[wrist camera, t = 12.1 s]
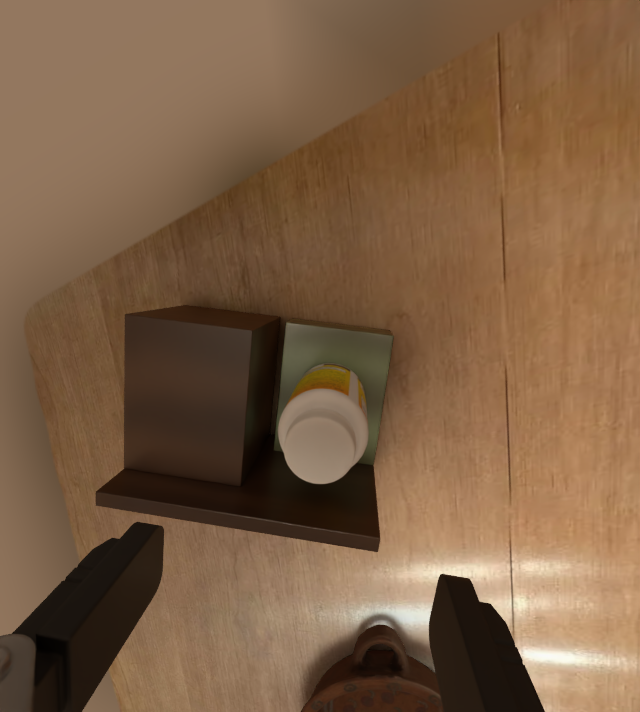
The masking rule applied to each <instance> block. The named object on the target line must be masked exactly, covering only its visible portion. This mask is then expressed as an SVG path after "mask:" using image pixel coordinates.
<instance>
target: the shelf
mask: <svg viewBox="0 0 640 712" xmlns="http://www.w3.org/2000/svg"><path fill="white" fill-rule="evenodd" d="M279 327H280V317H278V316H270V315H262V314H254V313H246V312H238V311H230V310H222V309H214V308H205V307H197V306H189V305H183V306H177V307H170V308H163V309H157V310H150V311H143V312H137V313H130V314H125V388H124V468H125V469H123V470H122V471H121V472H120V473H118V474H117V475H116V476H115V477H113V478H112V479H111V480H110V481H109V482H107V483H106V484H105V485H104V486H102V487H101V488H100V489H99V490H98V491H96V505H97V506H102V507H108V508H114V509H120V510H126V511H132V512H138V513H144V514H151V515H157V516H163V517H169V518H175V519H181V520H187V521H193V522H199V523H205V524H211V525H217V526H223V527H229V528H235V529H241V530H247V531H253V532H259V533H265V534H272V535H278V536H284V537H290V538H296V539H302V540H308V541H314V542H320V543H326V544H332V545H338V546H344V547H350V548H356V549H362V550H368V551H374V552H378V549H379V543H380V530H379V519H378V509H377V498H376V487H375V476H374V466H373V465H374V460H375V454H376V447H377V441H378V435H379V428H380V422H381V415H382V409H383V403H384V396H385V390H386V383H387V377H388V371H389V364H390V358H391V351H392V345H393V339H394V336H393V334H392V333H391V331H390V330H382V329H374V328H366V327H357V326H349V325H341V324H333V323H325V322H317V321H309V320H301V319H293V318H292V319H291V320H289V321H287V322H286V325H285V335H284V346H283V356H282V367H281V377H280V388H279V399H278V409H277V420H276V430H275V436H272V435H270V425H271V414H272V403H273V392H274V381H275V370H276V359H277V349H278V338H279ZM325 363H333V364H339V365H342V366H345V367H347V368H348V369H350V370H351V371H353V372H354V373H355V374H356V375H357V376H358V378H359V379H360V381H361V383H362V385H363V387H364V391H365V398H366V407H367V419H368V430H369V435H368V443H367V446H366V449H365V451H364V453H363V455H362V457H361V458H360V459H359V461H358V462H357V463H356V464H355V465H354V466H352V467H351V468H350V470H349V471H348V472H347V473H346V474H345V475H344V476H343V477H342V478H340V479H338V480H337V481H334V482H331V483H327V484H314V483H310V482H307V481H305V480H303V479H301V478H299V477H298V476H297V475H295V474H294V473H293V472H292V470H291V469H290V468H289V466H288V464H287V462H286V460H285V456H284V452H283V450H282V448H281V446H280V442H279V437H278V425H279V421H280V417H281V415H282V412H283V410H284V409H285V407H286V405H287V403H288V401H289V399H290V397H291V395H292V393H293V392H294V390H295V388H296V386H297V384H298V382H299V380H300V379H301V377H302V376H303V375H304V374H305V373H306V372H307V371H308V370H310V369H311V368H313V367H315V366H317V365H320V364H325Z"/></svg>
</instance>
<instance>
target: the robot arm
mask: <svg viewBox="0 0 640 712" xmlns="http://www.w3.org/2000/svg"><path fill="white" fill-rule="evenodd" d="M163 546H164V529H163V527H162V526H159V525H153V524H147V523H141V522H136V523H134V524H133V525H132V526H131V527H130V528H129V529H128V530H127V531H126V533H125V534H124V535H123V536H122V537H121V538H120V539H116V538H111V539H109V540H107V541H106V542H104V543H103V544H101V545H99V546H98V547H96V548H94V549H93V550H92V551H91V552H90V553H89V554H88V555H87V556H86V557H85V558H84V559H83V560H82V561H81V562H80V563H79V565H78V567H77V568H75V569H74V570H73V571H72V572H71V573H70V574H69V575H68V576H67V577H66V579H65V581H62V582H61V583H60V584H59V585H58V586H57V587H56V588H55V589H54V590H53V591H52V593H51V594H50V595H49V596H48V597H47V598H46V599H45V600H44V601H43V602H42V603H41V604H40V605H39V606H38V607H37V608H36V609H35V610H34V611H33V612H32V614H31V615H30V616H29V617H28V618H27V619H26V620H25V621H24V622H23V623H22V624H21V625H20V626H19V627H18V628H17V629H16V630H15V631H14V632H13V633H12V634H8V635H3V636H0V712H82V710H83V709H84V707H85V705H86V704H87V702H88V701H89V699H90V698H91V696H92V694H93V693H94V691H95V690H96V688H97V686H98V685H99V683H100V682H101V680H102V678H103V677H104V675H105V674H106V672H107V670H108V669H109V667H110V666H111V664H112V662H113V661H114V659H115V658H116V656H117V654H118V653H119V651H120V650H121V648H122V646H123V645H124V643H125V642H126V640H127V638H128V637H129V635H130V634H131V632H132V630H133V629H134V627H135V626H136V624H137V622H138V621H139V619H140V618H141V616H142V615H143V613H144V611H145V610H146V608H147V607H148V605H149V603H150V602H151V600H152V599H153V597H154V595H155V593H156V591H157V589H158V587H159V584H160V581H161V577H162V572H163ZM429 641H430V648H431V652H432V657H433V662H434V667H435V672H436V677H437V682H438V686H439V691H440V696H441V701H442V706H443V711H444V712H545V711H544V709H543V706H542V704H541V702H540V699H539V697H538V695H537V693H536V690H535V688H534V686H533V684H532V681H531V679H530V677H529V674H528V672H527V670H526V668H525V665H523V663H522V658H521V656H520V654H519V652H518V649H517V647H515V642H514V640H513V638H512V636H511V633H510V631H509V629H508V626H507V624H506V622H505V621H504V620H503V619H502V617H501V616H500V615H499V614H498V613H497V611H496V610H495V609H494V608H493V606H492V605H491V604H489V603H483V602H479V600H478V597H477V595H476V592H475V589H474V587H473V584H472V582H471V580H470V579H468V578H463V577H457V576H451V575H445V574H441V575H440V577H439V580H438V584H437V588H436V593H435V597H434V602H433V606H432V611H431V615H430V621H429Z"/></svg>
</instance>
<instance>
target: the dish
mask: <svg viewBox="0 0 640 712" xmlns="http://www.w3.org/2000/svg"><path fill="white" fill-rule="evenodd" d="M375 644H385V645H387V646H389V647H391V648H392V649H393V650H394V651H387V650H371V651H367V650H368V649H369V648H370V647H371V646H373V645H375ZM301 712H444V711H443V706H442V701H441V696H440V691H439V686H438V682H437V677H436V674H435V673H434V672H433V671H432V670H430V669H429V668H428V667H426V666H425V665H423V664H422V663H420V662H419V661H417V660H416V659H414V658H412V657H410V656H408V655H407V654H406V651H405V647H404V645H403V643H402V641H401V639H400V637H399V636H398V634H397V633H396V632H395V630H394V629H392V628H390V627H388V626H386V625H376V626H373V627H370V628H368V629H366V630H365V631H364V632H363V633H362V634H361V635H360V636H359V638H358V640H357V643H356V645H355V649H354V653H353V654H352V655H350V656H348V657H346V658H344V659H342V660H340V661H339V662H337V663H336V664H335V665H333V666H332V667H331V668H330V669H329V670H328V671H327V672H326V673H325V674H324V676H323V677H322V678H321V680H320V681H319V683H318V684H317V686H316V688H315V690H314V692H313V694H312V696H311V698H310V700H309V701H308V702H307V703H306V704H305V706H304V707H303V709H302V711H301Z"/></svg>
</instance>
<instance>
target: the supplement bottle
mask: <svg viewBox="0 0 640 712" xmlns="http://www.w3.org/2000/svg"><path fill="white" fill-rule="evenodd" d="M368 435H369V430H368V419H367V407H366V398H365V391H364V387H363V385H362V383H361V381H360V379H359V378H358V376H357V375H356V374H355V373H354V372H353V371H351V370H350V369H348V368H347V367H345V366H342V365H339V364H333V363H325V364H320V365H317V366H315V367H313V368H311V369H310V370H308V371H307V372H306V373H305V374H304V375H303V376H302V377H301V379H300V380H299V382H298V384H297V386H296V388H295V390H294V392H293V393H292V395H291V397H290V399H289V401H288V403H287V405H286V407H285V409H284V410H283V412H282V415H281V417H280V421H279V425H278V437H279V442H280V446H281V448H282V450H283V452H284V456H285V460H286V462H287V464H288V466H289V468H290V469H291V470H292V472H293V473H294V474H295V475H297V476H298V477H299V478H301V479H303V480H305V481H307V482H310V483H314V484H327V483H331V482H334V481H337V480H338V479H340V478H342V477H343V476H344V475H345V474H346V473H347V472H348V471H349V470H350V468H351V467H352V466H354V465H355V464H356V463H357V462H358V461H359V459H360V458H361V457H362V455H363V453H364V451H365V449H366V446H367V443H368Z"/></svg>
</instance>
